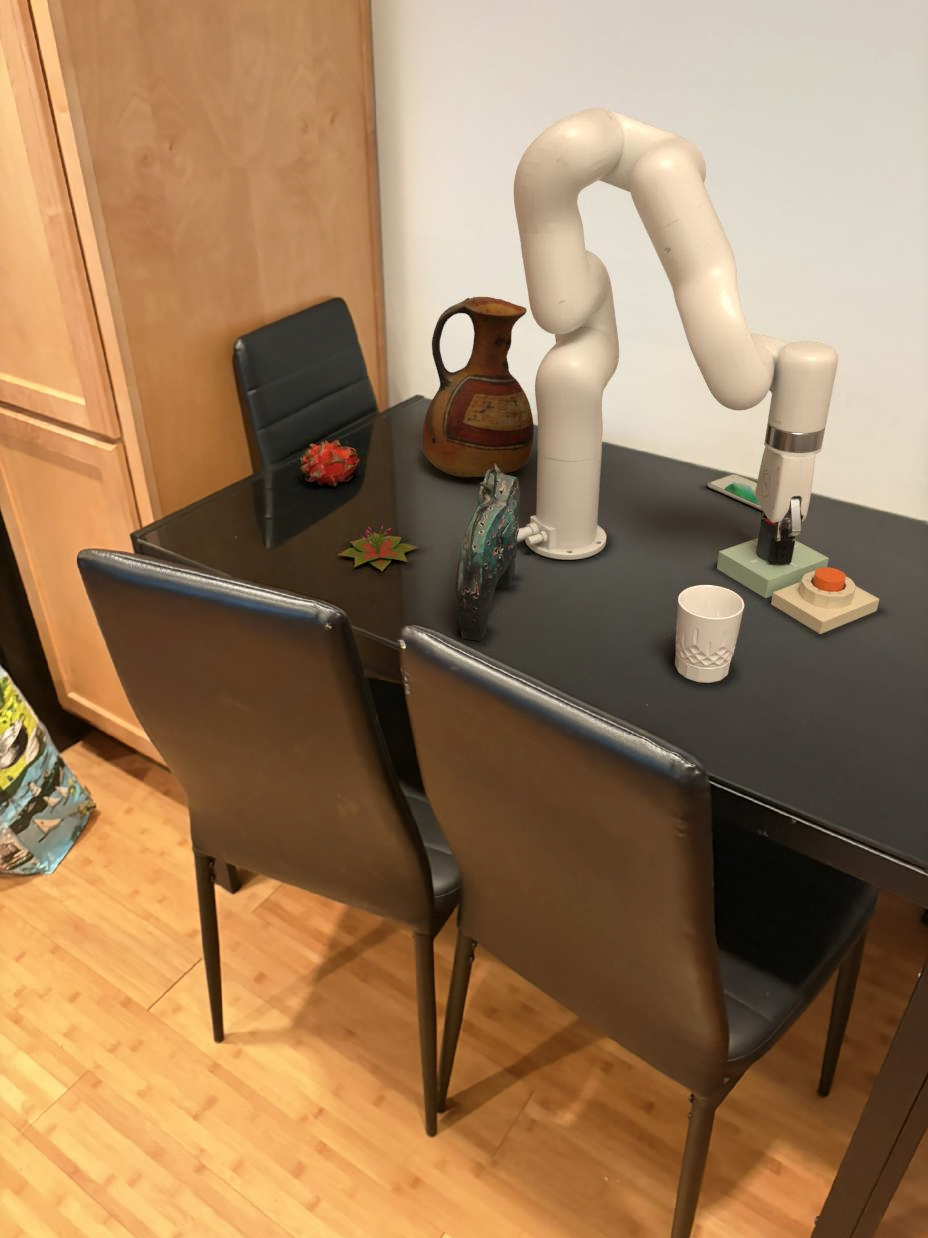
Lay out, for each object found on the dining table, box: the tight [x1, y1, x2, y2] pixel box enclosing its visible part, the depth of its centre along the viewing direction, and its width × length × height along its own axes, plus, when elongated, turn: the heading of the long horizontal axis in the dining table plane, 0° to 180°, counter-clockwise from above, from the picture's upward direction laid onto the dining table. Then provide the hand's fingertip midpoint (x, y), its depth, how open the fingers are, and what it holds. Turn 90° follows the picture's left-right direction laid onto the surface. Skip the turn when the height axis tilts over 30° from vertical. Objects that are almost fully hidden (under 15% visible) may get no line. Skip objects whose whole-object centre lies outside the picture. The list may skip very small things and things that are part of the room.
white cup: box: [674, 584, 745, 684], centre depth 120 cm, size 8×8×10 cm
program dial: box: [756, 518, 789, 561], centre depth 140 cm, size 5×5×5 cm
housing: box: [770, 571, 880, 635], centre depth 133 cm, size 11×9×4 cm
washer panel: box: [716, 537, 830, 599], centre depth 142 cm, size 12×10×3 cm
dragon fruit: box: [299, 439, 361, 488], centre depth 171 cm, size 8×8×12 cm
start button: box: [813, 566, 847, 592], centre depth 132 cm, size 4×4×2 cm
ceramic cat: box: [454, 463, 521, 642], centre depth 131 cm, size 20×6×20 cm, turn 163°
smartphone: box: [707, 473, 762, 512], centre depth 164 cm, size 7×1×15 cm
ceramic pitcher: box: [421, 296, 535, 478], centre depth 169 cm, size 20×20×30 cm
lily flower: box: [337, 524, 419, 572], centre depth 149 cm, size 12×12×5 cm
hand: (774, 552), depth 141 cm, fingers closed on program dial, 5 cm apart
